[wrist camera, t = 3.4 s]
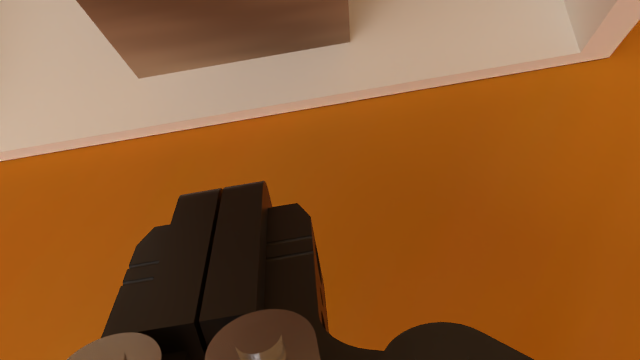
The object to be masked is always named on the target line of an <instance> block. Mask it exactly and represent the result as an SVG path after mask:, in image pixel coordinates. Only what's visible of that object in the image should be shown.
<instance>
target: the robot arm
mask: <svg viewBox="0 0 640 360" xmlns="http://www.w3.org/2000/svg"><path fill="white" fill-rule="evenodd" d="M67 360H534V359H532V358H530V357H528V356H526V355H524V354H522V353H520V352H518V351H517V350H515V349H513V348H511V347H509V346H507V345H505V344H503V343H501V342H499V341H497V340H496V339H494V338H492V337H490V336H488V335H486V334H484V333H482V332H480V331H478V330H476V329H474V328H471V327H468V326H465V325H462V324H456V323H447V322H437V323H428V324H423V325H419V326H416V327H413V328H411V329H409V330H407V331H405V332H403V333H401V334H400V335H398V336H397V337H396V338H395V339H393V340H392V341H391V342H390V343H389V345H388V346H387V348H386V349H385V351H378V350H368V349H362V348H357V347H353V346H350V345H347V344H345V343H342V342H340V341H339V340H337V339H335V338H334V337H332V336H331V335H330V334H329V330H328V320H327V310H326V301H325V291H324V283H323V278H322V273H321V268H320V263H319V258H318V253H317V248H316V242H315V237H314V232H313V227H312V222H311V217H310V216H309V215H308V214H307V213H306V212H305V211H304V209H303V208H302V207H301V206H300V205H299V204H298V203H295V204H289V205H283V206H277V207H272V204H271V200H270V195H269V191H268V188H267V185H266V182H265V181H261V182H255V183H249V184H243V185H237V186H231V187H225V188H224V189H221V188H220V189H214V190H208V191H202V192H196V193H190V194H184V195H180V196H179V199H178V202H177V205H176V208H175V211H174V215H173V218H172V221H171V224H170V225H164V226H158V227H154V228H153V229H152V230H151V231H150V232H149V233H148V234H147V235H146V237H145V238H144V239H143V240H142V241H141V242H140V243H139V244H138V245H137V246H136V248H135V251H134V254H133V256H132V259H131V261H130V264H129V269H127V272H126V274H125V277H124V280H123V286H121V287H120V290H119V293H118V295H117V298H116V300H115V303H114V306H113V308H112V311H111V313H110V316H109V319H108V321H107V324H106V326H105V329H104V332H103V334H102V337H101V339H98V340H96V341H94V342H92V343H90V344H88V345H86V346H84V347H83V348H81V349H80V350H78V351H77V352H75V353H74V354H73V355H71V356H70V357H69V358H68V359H67Z"/></svg>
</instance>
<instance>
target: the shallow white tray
mask: <svg viewBox="0 0 640 360" xmlns="http://www.w3.org/2000/svg"><path fill="white" fill-rule="evenodd" d="M348 2H349V26H350V42H348V43H342V44H336V45H331V46H325V47H319V48H313V49H308V50H302V51H296V52H290V53H284V54H279V55H273V56H267V57H261V58H255V59H250V60H244V61H238V62H232V63H227V64H221V65H215V66H209V67H203V68H198V69H192V70H186V71H180V72H174V73H169V74H163V75H157V76H151V77H146V78H140V79H138V77H137V76H136V75H135V74H134V72H133V71H132V70H131V69H130V67H129V66H128V65H127V64H126V62H125V61H124V60H123V59H122V57H121V56H120V55H119V54H118V52H117V51H116V50H115V49H114V47H113V46H112V45H111V44H110V42H109V41H108V40H107V39H106V37H105V36H104V35H103V34H102V32H101V31H100V30H99V29H98V27H97V26H96V25H95V24H94V22H93V21H92V20H91V19H90V17H89V16H88V15H87V14H86V12H85V11H84V10H83V9H82V7H81V6H80V5H79V4H78V2H77V1H76V0H0V161H5V160H10V159H16V158H22V157H28V156H34V155H40V154H46V153H51V152H57V151H63V150H69V149H75V148H81V147H87V146H92V145H98V144H104V143H110V142H116V141H122V140H128V139H133V138H139V137H145V136H151V135H157V134H163V133H169V132H174V131H180V130H186V129H192V128H198V127H204V126H210V125H215V124H221V123H227V122H233V121H239V120H245V119H251V118H257V117H262V116H268V115H274V114H280V113H286V112H292V111H298V110H303V109H309V108H315V107H321V106H327V105H333V104H339V103H344V102H350V101H356V100H362V99H368V98H374V97H380V96H385V95H391V94H397V93H403V92H409V91H415V90H421V89H426V88H432V87H438V86H444V85H450V84H456V83H462V82H467V81H473V80H479V79H485V78H491V77H497V76H503V75H508V74H514V73H520V72H526V71H532V70H538V69H544V68H549V67H555V66H561V65H567V64H573V63H579V62H585V61H590V60H596V59H602V58H608V57H610V55H611V54H612V53H613V52H614V50H615V49H616V48H617V47H618V45H619V44H620V43H621V42H622V40H623V39H624V38H625V37H626V36H627V34H628V33H629V32H630V31H631V29H632V28H633V27H634V26H635V24H636V23H637V22H638V21H639V20H640V0H348Z"/></svg>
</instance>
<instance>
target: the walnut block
mask: <svg viewBox="0 0 640 360" xmlns="http://www.w3.org/2000/svg"><path fill="white" fill-rule="evenodd" d="M76 1H77V2H78V4H79V5H80V6H81V7H82V9H83V10H84V11H85V12H86V14H87V15H88V16H89V17H90V19H91V20H92V21H93V22H94V24H95V25H96V26H97V27H98V29H99V30H100V31H101V32H102V34H103V35H104V36H105V37H106V39H107V40H108V41H109V42H110V44H111V45H112V46H113V47H114V49H115V50H116V51H117V52H118V54H119V55H120V56H121V57H122V59H123V60H124V61H125V62H126V64H127V65H128V66H129V67H130V69H131V70H132V71H133V72H134V74H135V75H136V76H137V77H138V79H140V78H146V77H151V76H157V75H163V74H169V73H174V72H180V71H186V70H192V69H198V68H203V67H209V66H215V65H221V64H227V63H232V62H238V61H244V60H250V59H255V58H261V57H267V56H273V55H279V54H284V53H290V52H296V51H302V50H308V49H313V48H319V47H325V46H331V45H336V44H342V43H348V42H350V26H349V2H348V0H76Z"/></svg>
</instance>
